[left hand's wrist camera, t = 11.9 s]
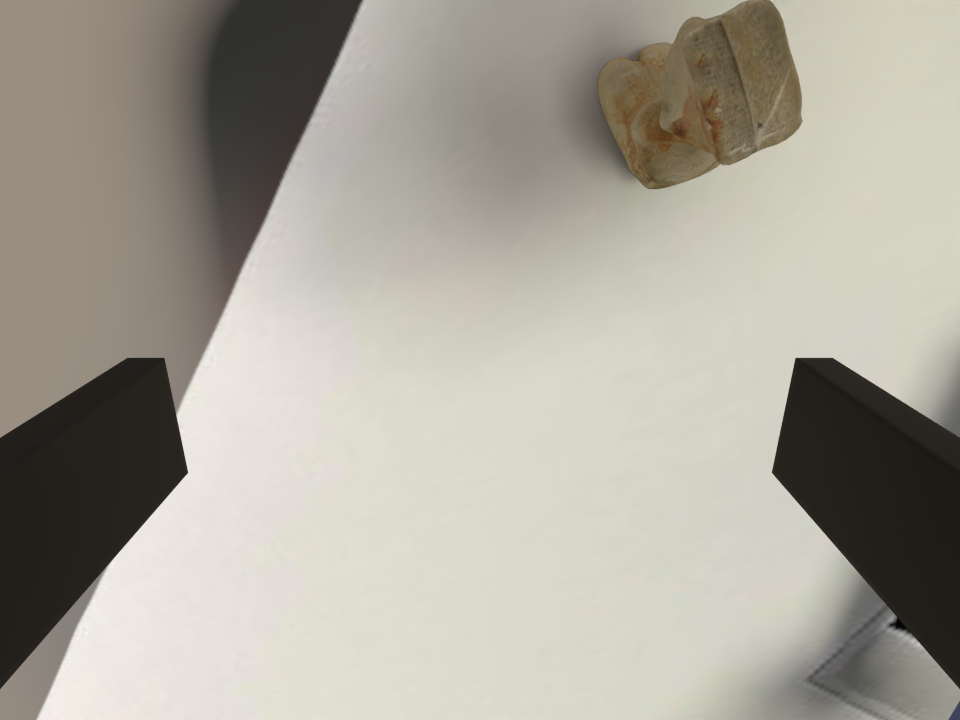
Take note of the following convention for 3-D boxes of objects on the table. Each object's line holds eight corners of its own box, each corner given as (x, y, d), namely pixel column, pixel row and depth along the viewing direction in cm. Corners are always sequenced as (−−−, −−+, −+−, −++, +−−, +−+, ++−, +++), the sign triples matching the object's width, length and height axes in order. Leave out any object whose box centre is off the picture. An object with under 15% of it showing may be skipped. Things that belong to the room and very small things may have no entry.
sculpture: (678, 34, 33) (827, -42, 19) (705, 162, 35) (854, 179, 21) (578, 73, 33) (649, 27, 19) (611, 195, 36) (695, 234, 22)
